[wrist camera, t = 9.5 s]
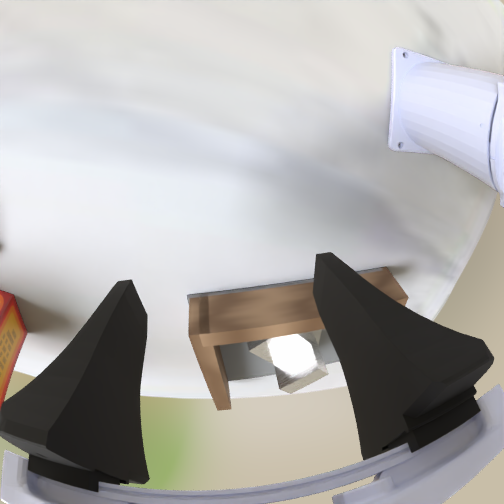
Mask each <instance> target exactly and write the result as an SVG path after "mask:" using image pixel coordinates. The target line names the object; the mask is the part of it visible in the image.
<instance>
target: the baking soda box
mask: <svg viewBox="0 0 504 504" xmlns="http://www.w3.org/2000/svg"><path fill="white" fill-rule="evenodd" d="M27 333H28V332H27V330H26V328H25V325H24V322H23V320H22V317H21V314H20V312H19V309H18V306H17V303H16V300H15V297H14V294H11V293H8V292H5V291H2V290H0V409H1V405H2V403H3V402H4V399H5V395H6V391H7V388H8V385H9V382H10V378H11V375H12V372H13V370H14V367H15V364H16V361H17V358H18V356H19V353H20V350H21V348H22V345H23V343H24V340H25V338H26V335H27Z"/></svg>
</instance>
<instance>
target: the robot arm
mask: <svg viewBox="0 0 504 504" xmlns="http://www.w3.org/2000/svg"><path fill="white" fill-rule="evenodd" d="M403 53H404V54H405V58H404V57H403ZM399 142H400V143H401V144H400V146H399V147H398V144H399ZM388 147H389V148H390V149H391V150H393V151H403V152H416V153H427V154H436V155H438V156H440V157H442V158H443V159H445V160H447V161H449V162H451V163H453V164H454V165H456V166H458V167H460V168H461V169H463V170H465V171H466V172H468V173H470V174H471V175H473V176H474V177H476V178H478V179H479V180H481V181H482V182H484V183H485V184H487V185H488V186H490V187H491V188H493V189H494V190H496V191H497V192H499V194H500V205H501V206H502V207H503V208H504V75H500V74H496V73H492V72H488V71H483V70H478V69H473V68H468V67H462V66H456V65H449V64H447V63H444V62H442V61H439V60H436V59H434V58H431V57H428V56H425V55H422V54H419V53H416V52H413V51H410V50H407V49H403V48H400V47H395V48H393V50H392V92H391V112H390V125H389V137H388ZM313 296H314V299H315V303H316V306H317V309H318V312H319V315H320V317H321V320H322V322H323V324H324V326H325V329H326V331H327V333H328V335H329V338H330V340H331V342H332V344H333V347H334V349H335V351H336V353H337V356H338V358H339V361H340V363H341V366H342V369H343V372H344V375H345V379H346V382H347V386H348V389H349V393H350V397H351V401H352V405H353V409H354V414H355V418H356V422H357V428H358V434H359V440H360V446H361V454H362V457H363V460H364V461H361V462H359V463H356V464H353V465H350V466H346V467H343V468H340V469H337V470H333V471H330V472H326V473H323V474H319V475H315V476H311V477H307V478H302V479H298V480H293V481H288V482H282V483H277V484H271V485H264V486H257V487H248V488H239V489H227V490H207V491H178V490H177V491H176V490H158V489H146V488H137V487H128V486H121V485H120V483H123V484H129V483H137V484H145V483H146V482H147V481H148V480H149V479H150V478H149V475H148V470H147V465H146V460H145V454H144V447H143V439H142V430H141V417H140V386H141V377H142V369H143V362H144V355H145V348H146V340H147V313H146V311H145V309H144V307H143V305H142V302H141V300H140V298H139V296H138V293H137V291H136V289H135V286H134V284H133V282H132V280H125V281H118V282H117V283H116V284H115V286H114V287H113V288H112V289H111V291H110V292H109V293H108V294H107V296H106V297H105V298H104V300H103V301H102V303H101V304H100V305H99V306H98V308H97V309H96V310H95V312H94V313H93V315H92V316H91V317H90V319H89V320H88V321H87V322H86V324H85V325H84V326H83V327H82V329H81V330H80V331H79V332H78V334H77V335H76V336H75V338H74V339H73V340H72V341H71V342H70V344H69V345H68V346H67V347H66V348H65V349H64V350H63V351H62V352H61V354H60V355H59V356H58V357H57V358H56V359H55V360H54V361H53V362H52V363H51V364H50V365H49V366H48V367H47V368H46V369H45V370H44V371H43V372H42V373H41V374H39V375H38V376H37V377H36V378H35V379H34V380H33V381H31V382H30V383H29V384H28V385H27V386H25V387H24V388H23V389H22V390H20V391H19V392H17V393H16V394H15V395H13V396H12V397H10V398H9V399H7V400H6V401H4V402H3V403H2V405H1V409H0V436H1V437H2V438H3V439H5V440H7V441H8V442H10V443H12V444H13V445H15V446H16V447H18V448H20V449H21V450H23V451H25V452H27V453H29V459H27V458H24V457H22V456H20V455H17V454H15V453H13V452H10V451H8V450H5V452H4V459H3V468H2V478H1V479H2V480H1V500H2V501H4V502H5V503H7V504H266V503H272V502H279V501H284V500H289V499H295V498H299V497H304V496H308V495H312V494H316V493H320V492H324V491H327V490H331V489H335V488H338V487H341V486H345V485H348V484H351V483H354V482H357V481H359V480H362V479H365V478H367V477H370V476H372V475H375V474H377V475H376V476H375V477H374V480H373V482H372V483H370V484H367V485H364V486H361V487H358V488H355V489H353V490H349V491H347V492H343V493H340V494H337V495H334V496H333V497H332V500H333V504H442V503H444V502H445V501H446V500H448V499H449V498H450V497H451V496H453V495H454V494H455V493H456V492H458V491H459V490H460V489H461V488H462V487H464V486H465V485H466V484H467V483H468V482H469V481H470V480H472V479H473V478H474V477H475V476H476V475H477V474H478V473H479V472H480V471H481V470H482V469H483V468H484V467H485V466H486V465H487V464H488V463H490V462H491V461H492V460H493V459H494V458H495V457H496V456H497V455H498V454H499V453H500V452H501V451H502V449H504V392H503V390H502V388H501V386H500V385H499V384H498V385H496V386H495V387H494V388H492V389H491V390H490V391H488V392H487V393H486V394H484V395H483V396H482V397H480V398H479V399H478V400H475V398H474V395H475V394H476V392H477V391H476V389H475V387H474V384H475V383H476V382H477V381H478V380H479V379H480V378H481V377H482V376H483V375H484V374H485V373H486V372H487V370H488V369H489V368H490V367H491V365H492V364H493V361H494V357H493V355H492V353H491V352H490V350H489V349H488V347H487V346H486V344H485V342H484V341H483V340H482V339H478V338H475V337H472V336H469V335H465V334H462V333H459V332H456V331H454V330H451V329H449V328H446V327H444V326H442V325H440V324H437V323H435V322H433V321H431V320H429V319H427V318H425V317H423V316H421V315H419V314H417V313H415V312H413V311H412V310H410V309H408V308H407V307H405V306H403V305H402V304H400V303H398V302H397V301H395V300H394V299H392V298H390V297H389V296H388V295H386V294H385V293H383V292H382V291H380V290H379V289H378V288H376V287H375V286H373V285H372V284H371V283H369V282H368V281H367V280H366V279H364V278H363V277H362V276H360V275H359V274H358V273H357V272H355V271H354V270H353V269H352V268H350V267H349V266H348V265H347V264H345V263H344V262H343V261H342V260H340V259H339V258H338V257H337V256H335V255H334V254H333V253H331V252H328V253H322V254H316V262H315V273H314V283H313Z"/></svg>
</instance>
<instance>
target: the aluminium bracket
mask: <svg viewBox="0 0 504 504" xmlns="http://www.w3.org/2000/svg"><path fill="white" fill-rule="evenodd" d="M247 345H248V351H249V352H251V353H253V354H255V355H257V356H259V357H260V358H262V359H264V360H266V361H268V362H270V363H272V364H274V367H275V372H276V376H277V380H278V385H279V389H280V390H283V391H285V392H288V393H290V394H291V393H293V392H295V391H297V390H299V389H301V388H303V387H305V386H307V385H309V384H311V383H313V382H315V381H317V380H319V379H321V378H322V377H324V376H326V375H328V371H327V368H326V365H325V363H324V360H323V357H322V354H321V352H320V349H319V346H318V343H317V341H316V338H315V335H313V334H312V333H311V332H305V333H300V334H294V335H288V336H282V337H276V338H270V339H263V340H256V341H249V342H247Z"/></svg>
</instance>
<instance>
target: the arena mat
mask: <svg viewBox="0 0 504 504" xmlns="http://www.w3.org/2000/svg"><path fill="white" fill-rule="evenodd" d="M381 270H383V269H382V268H376V269H370V270H364V271H359V272H357V273H358V274H364V273H370V272H376V271H381ZM313 281H314V279H308V280H301V281H294V282H287V283H280V284H273V285H266V286H258V287H256V288H255V287H251V289H250V288H249V289H248V288H243V289H235V290H237V291H234V290H227V291H220V292H221V293H219V291H218V292H216V293H215V292H213V293H211V292H210V293H208V295H207V294H206V293H204V295H205V296H212V294H213V295H221V294H229V293H237V292H238V291H239V292H240V291H241V292H244V291H249V290H250V291H253V290H260V289H268V288H275V287H282V286H285V285H286V286H289V285H296V283H297V284H303V283H309V282H313ZM299 282H300V283H299ZM290 283H291V284H290ZM284 284H285V285H284ZM268 286H269V287H268ZM263 287H264V288H263ZM253 288H254V289H253ZM244 289H246V290H244ZM232 291H233V292H232ZM223 292H225V293H223ZM226 292H227V293H226ZM217 293H218V294H217ZM201 294H202V293H201ZM210 294H211V295H210ZM193 296H194V297H193ZM200 296H202V297H204V296H203V294H202V295H200V294H192V295H187V300H188V303H189V298H195V297H200ZM311 333H312V334H313V335H315V338H316V341H317V343H318V346H319V349H320V352H321V354H322V357H323V360H324V363H325V364H330V363H334V362H338V361H339V358H338V356H337V353H336V351H335V349H334V347H333V344H332V342H331V340H330V338H329V335H328V333H327V331H326V329H321V330H316V331H311ZM219 346H220V350H221V354H222V359H223V363H224V367H225V371H226V375H227V378H228V381H232V380H240V379H248V378H255V377H262V376H268V375H274V374H276V372H275V367H274V364H272V363H270V362H268V361H266V360H264V359H262V358H260V357H259V356H257V355H255V354H253V353H251V352H249V351H248V345H247V342H241V343H233V344H225V345H219Z"/></svg>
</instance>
